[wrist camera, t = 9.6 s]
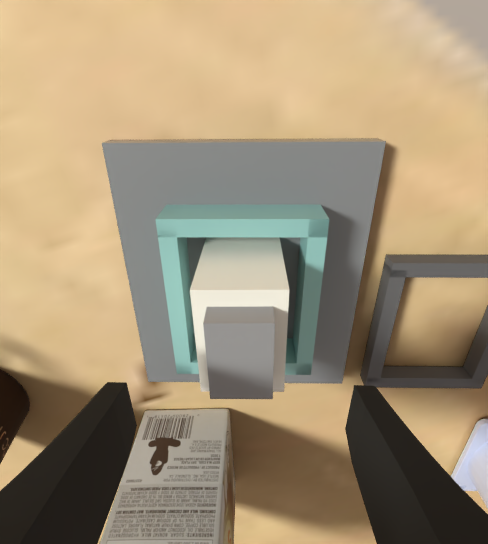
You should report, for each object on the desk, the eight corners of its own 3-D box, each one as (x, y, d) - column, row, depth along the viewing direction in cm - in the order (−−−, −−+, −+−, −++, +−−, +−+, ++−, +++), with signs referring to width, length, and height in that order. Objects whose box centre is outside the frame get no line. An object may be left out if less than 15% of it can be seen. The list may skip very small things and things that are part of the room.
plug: (279, 235, 16) (292, 305, 11) (276, 320, 18) (286, 411, 13) (206, 236, 16) (184, 306, 11) (213, 320, 19) (197, 411, 13)
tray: (523, 254, 17) (538, 263, 17) (471, 376, 21) (481, 388, 21) (386, 254, 18) (393, 263, 17) (360, 375, 22) (364, 387, 21)
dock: (377, 138, 15) (405, 148, 12) (338, 371, 22) (350, 410, 19) (110, 139, 15) (80, 150, 13) (152, 369, 22) (138, 408, 19)
